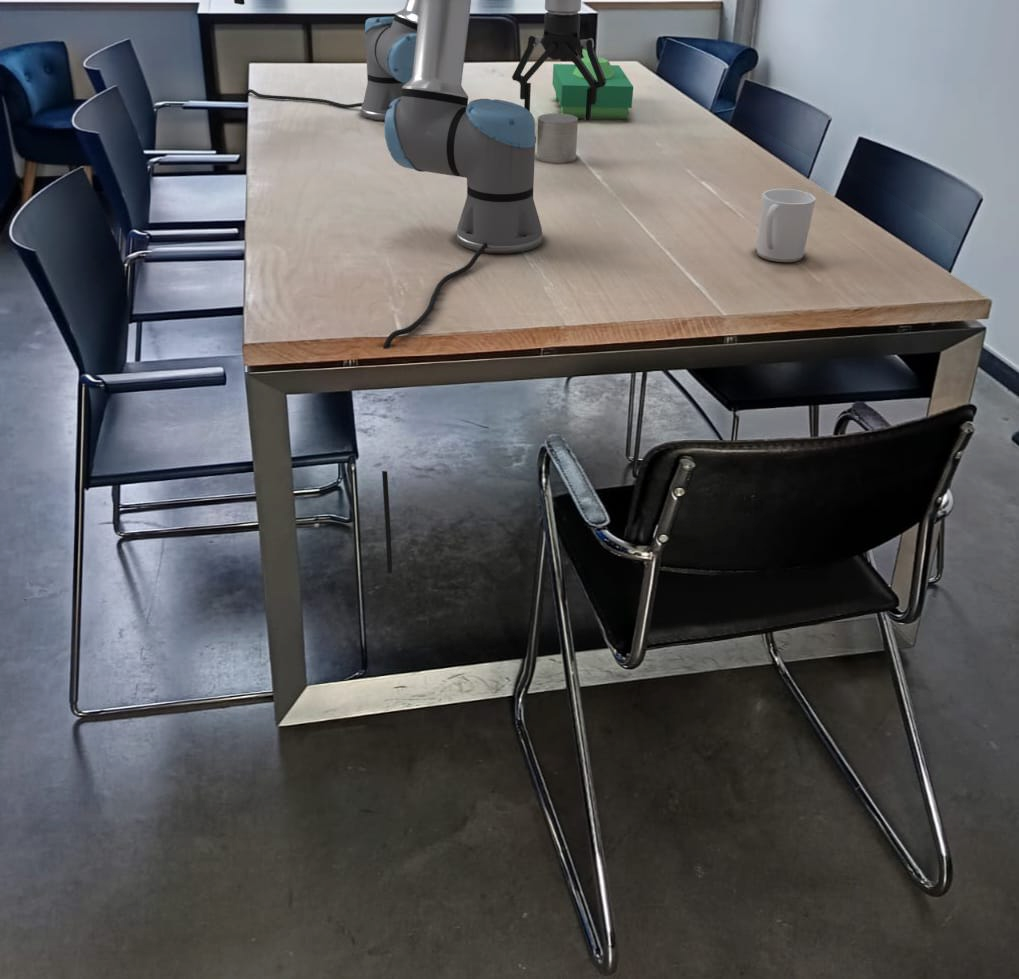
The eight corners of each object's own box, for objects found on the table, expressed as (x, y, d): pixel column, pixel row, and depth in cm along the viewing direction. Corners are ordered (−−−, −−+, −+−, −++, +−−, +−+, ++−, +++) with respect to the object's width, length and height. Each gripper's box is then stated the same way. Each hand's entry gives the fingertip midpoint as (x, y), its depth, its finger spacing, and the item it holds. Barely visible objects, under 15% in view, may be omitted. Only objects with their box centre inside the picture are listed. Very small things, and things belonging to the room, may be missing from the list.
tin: (576, 153, 248) (578, 114, 244) (575, 163, 241) (577, 123, 236) (538, 151, 249) (539, 112, 244) (535, 162, 241) (536, 121, 237)
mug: (769, 242, 197) (777, 185, 192) (814, 254, 192) (824, 196, 187) (738, 258, 190) (746, 199, 184) (785, 270, 185) (795, 210, 180)
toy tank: (616, 45, 298) (634, 70, 268) (612, 92, 304) (630, 122, 275) (551, 43, 297) (563, 69, 267) (549, 91, 303) (560, 121, 274)
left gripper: (215, -107, 218) (227, 8, 230) (314, -110, 234) (321, -3, 245) (194, -109, 223) (207, 4, 234) (293, -112, 238) (300, -6, 250)
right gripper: (623, 13, 230) (615, 118, 241) (508, 6, 234) (505, 109, 245) (619, 18, 224) (611, 125, 234) (500, 10, 228) (497, 116, 238)
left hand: (265, 1), depth 240 cm, fingers open, 13 cm apart
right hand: (557, 117), depth 240 cm, fingers open, 13 cm apart
